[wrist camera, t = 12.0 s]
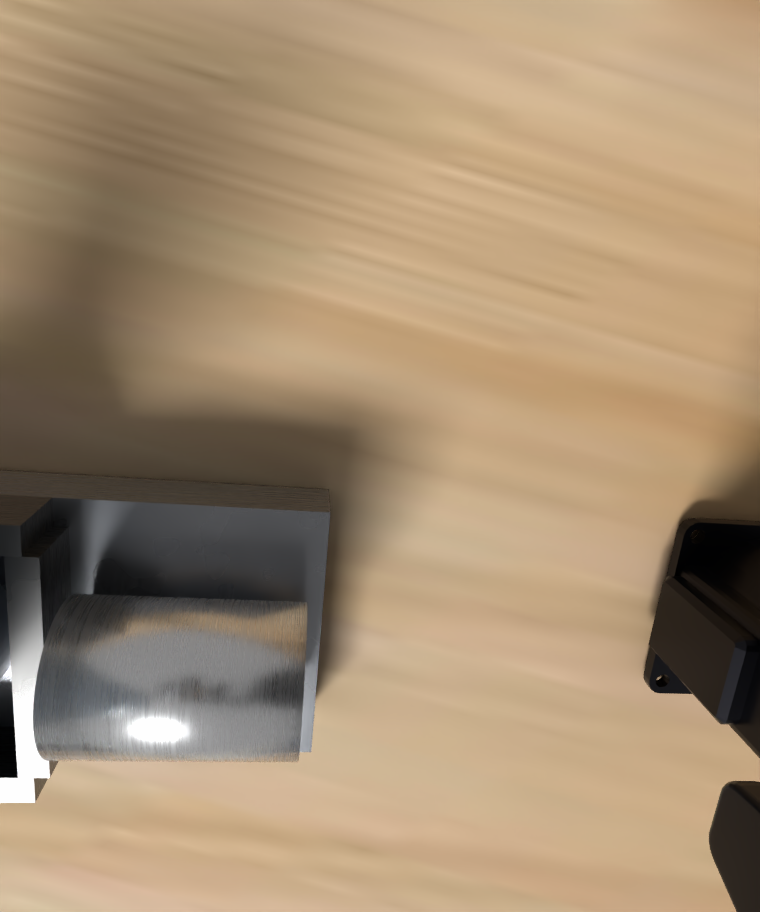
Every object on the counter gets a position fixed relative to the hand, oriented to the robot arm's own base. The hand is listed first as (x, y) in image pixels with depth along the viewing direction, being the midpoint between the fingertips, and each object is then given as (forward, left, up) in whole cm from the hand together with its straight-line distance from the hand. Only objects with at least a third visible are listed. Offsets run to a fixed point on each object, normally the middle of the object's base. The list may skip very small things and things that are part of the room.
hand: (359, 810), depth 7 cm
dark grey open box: (+7, +5, -13) cm, 16 cm away
